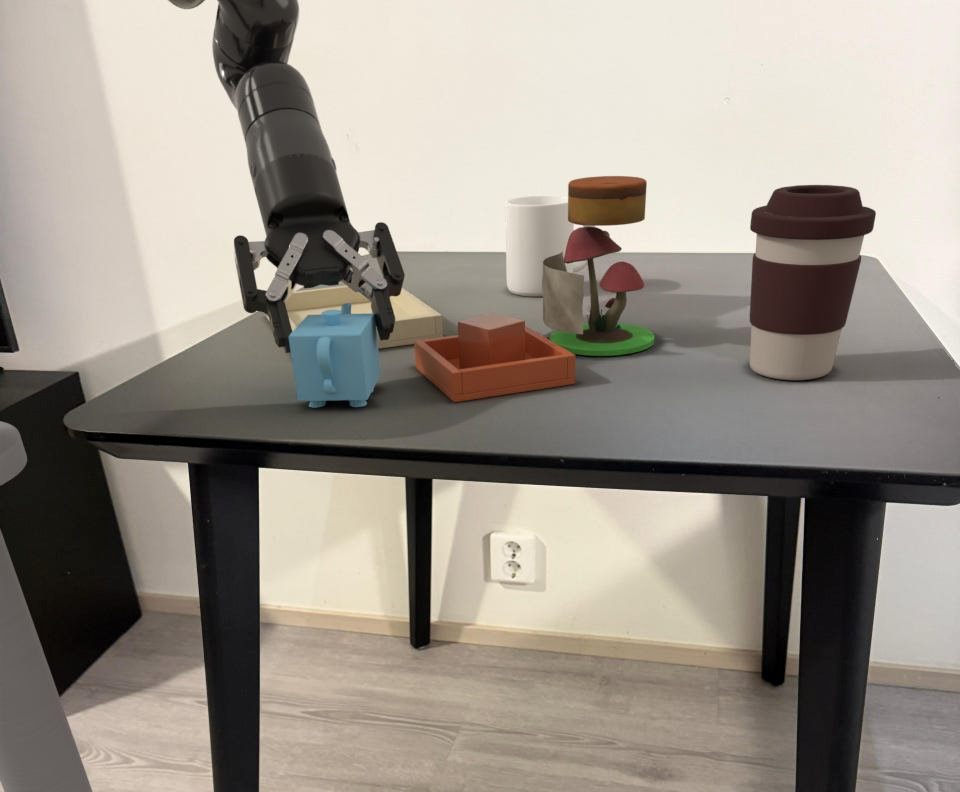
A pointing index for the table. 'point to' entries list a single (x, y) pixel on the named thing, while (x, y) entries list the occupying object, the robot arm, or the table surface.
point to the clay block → (490, 340)
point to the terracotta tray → (494, 368)
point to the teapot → (335, 357)
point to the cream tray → (409, 312)
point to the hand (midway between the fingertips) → (338, 341)
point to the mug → (535, 240)
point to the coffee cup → (804, 277)
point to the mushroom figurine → (565, 291)
